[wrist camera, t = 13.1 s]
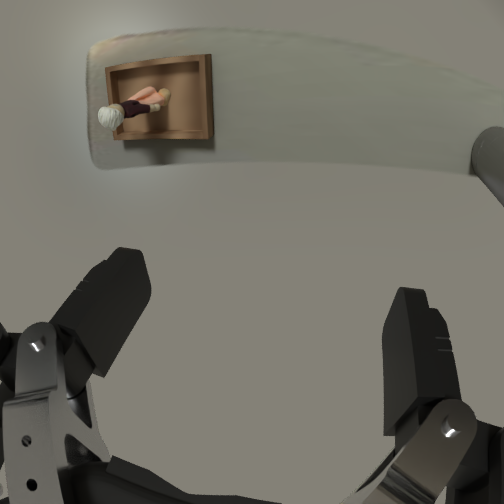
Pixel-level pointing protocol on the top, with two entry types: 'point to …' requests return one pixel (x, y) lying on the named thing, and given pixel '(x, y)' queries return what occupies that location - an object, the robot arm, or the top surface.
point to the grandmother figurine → (133, 107)
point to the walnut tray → (179, 105)
